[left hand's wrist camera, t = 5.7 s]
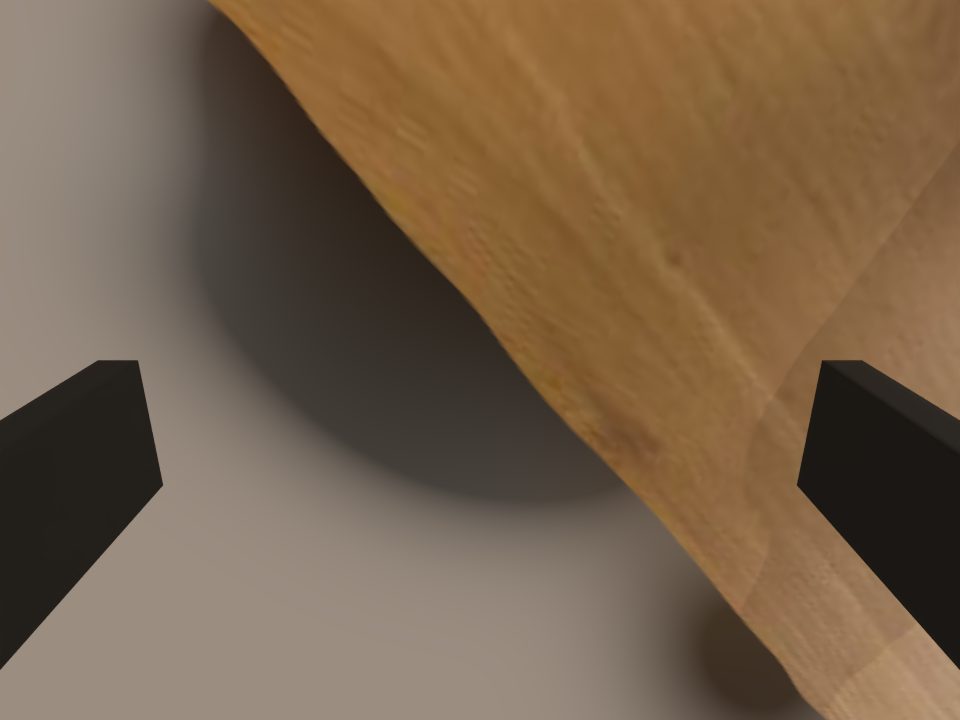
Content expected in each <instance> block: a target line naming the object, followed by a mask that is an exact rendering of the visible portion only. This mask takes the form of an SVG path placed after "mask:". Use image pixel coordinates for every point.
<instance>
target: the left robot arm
mask: <svg viewBox="0 0 960 720" xmlns="http://www.w3.org/2000/svg"><path fill="white" fill-rule="evenodd" d="M162 486H163V482H162V477H161V472H160V467H159V462H158V458H157V453H156V448H155V443H154V438H153V433H152V428H151V423H150V418H149V413H148V408H147V403H146V398H145V393H144V388H143V383H142V378H141V373H140V368H139V363H138V361H137V360H98V361H96V362H95V363H93V364H91V365H90V366H88V367H86V368H85V369H83V370H82V371H80V372H78V373H77V374H75V375H74V376H72V377H70V378H69V379H67V380H65V381H64V382H62V383H60V384H59V385H57V386H56V387H54V388H52V389H51V390H49V391H47V392H46V393H44V394H43V395H41V396H39V397H38V398H36V399H34V400H33V401H31V402H29V403H28V404H26V405H25V406H23V407H21V408H20V409H18V410H16V411H15V412H13V413H12V414H10V415H8V416H7V417H5V418H3V419H2V420H0V670H1V668H2V667H3V666H4V665H5V664H6V663H7V662H8V660H9V659H10V658H11V657H12V656H13V655H14V654H15V653H16V651H17V650H18V649H19V648H20V647H21V646H22V645H23V643H24V642H25V641H26V640H27V639H28V638H29V637H30V635H31V634H32V633H33V632H34V631H35V630H36V629H37V628H38V626H39V625H40V624H41V623H42V622H43V621H44V620H45V619H46V617H47V616H48V615H49V614H50V613H51V612H52V611H53V609H54V608H55V607H56V606H57V605H58V604H59V603H60V602H61V600H62V599H63V598H64V597H65V596H66V595H67V594H68V592H69V591H70V590H71V589H72V588H73V587H74V586H75V584H76V583H77V582H78V581H79V580H80V579H81V578H82V577H83V575H84V574H85V573H86V572H87V571H88V570H89V569H90V567H91V566H92V565H93V564H94V563H95V562H96V561H97V560H98V558H99V557H100V556H101V555H102V554H103V553H104V552H105V550H106V549H107V548H108V547H109V546H110V545H111V544H112V543H113V541H114V540H115V539H116V538H117V537H118V536H119V535H120V533H121V532H122V531H123V530H124V529H125V528H126V527H127V526H128V524H129V523H130V522H131V521H132V520H133V519H134V518H135V516H136V515H137V514H138V513H139V512H140V511H141V510H142V509H143V507H144V506H145V505H146V504H147V503H148V502H149V501H150V499H151V498H152V497H153V496H154V495H155V494H156V493H157V492H158V490H159V489H160V488H161V487H162ZM797 486H798V487H799V488H800V489H801V490H802V492H803V493H804V494H805V495H806V496H807V497H808V498H809V499H810V501H811V502H812V503H813V504H814V505H815V506H816V507H817V509H818V510H819V511H820V512H821V513H822V514H823V515H824V516H825V518H826V519H827V520H828V521H829V522H830V523H831V524H832V526H833V527H834V528H835V529H836V530H837V531H838V532H839V533H840V535H841V536H842V537H843V538H844V539H845V540H846V541H847V543H848V544H849V545H850V546H851V547H852V548H853V549H854V550H855V552H856V553H857V554H858V555H859V556H860V557H861V558H862V560H863V561H864V562H865V563H866V564H867V565H868V566H869V567H870V569H871V570H872V571H873V572H874V573H875V574H876V575H877V577H878V578H879V579H880V580H881V581H882V582H883V583H884V585H885V586H886V587H887V588H888V589H889V590H890V591H891V592H892V594H893V595H894V596H895V597H896V598H897V599H898V600H899V602H900V603H901V604H902V605H903V606H904V607H905V608H906V609H907V611H908V612H909V613H910V614H911V615H912V616H913V617H914V619H915V620H916V621H917V622H918V623H919V624H920V625H921V626H922V628H923V629H924V630H925V631H926V632H927V633H928V634H929V636H930V637H931V638H932V639H933V640H934V641H935V642H936V643H937V645H938V646H939V647H940V648H941V649H942V650H943V651H944V653H945V654H946V655H947V656H948V657H949V658H950V659H951V660H952V662H953V663H954V664H955V665H956V666H957V667H958V668H959V670H960V420H958V419H957V418H955V417H953V416H952V415H950V414H948V413H947V412H945V411H944V410H942V409H940V408H939V407H937V406H935V405H934V404H932V403H931V402H929V401H927V400H926V399H924V398H922V397H921V396H919V395H918V394H916V393H914V392H913V391H911V390H909V389H908V388H906V387H905V386H903V385H901V384H900V383H898V382H896V381H895V380H893V379H891V378H890V377H888V376H887V375H885V374H883V373H882V372H880V371H878V370H877V369H875V368H874V367H872V366H870V365H869V364H867V363H865V362H864V361H862V360H822V363H821V368H820V373H819V378H818V383H817V388H816V393H815V398H814V403H813V408H812V413H811V418H810V423H809V428H808V433H807V438H806V443H805V448H804V452H803V457H802V462H801V467H800V472H799V477H798V482H797Z"/></svg>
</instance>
